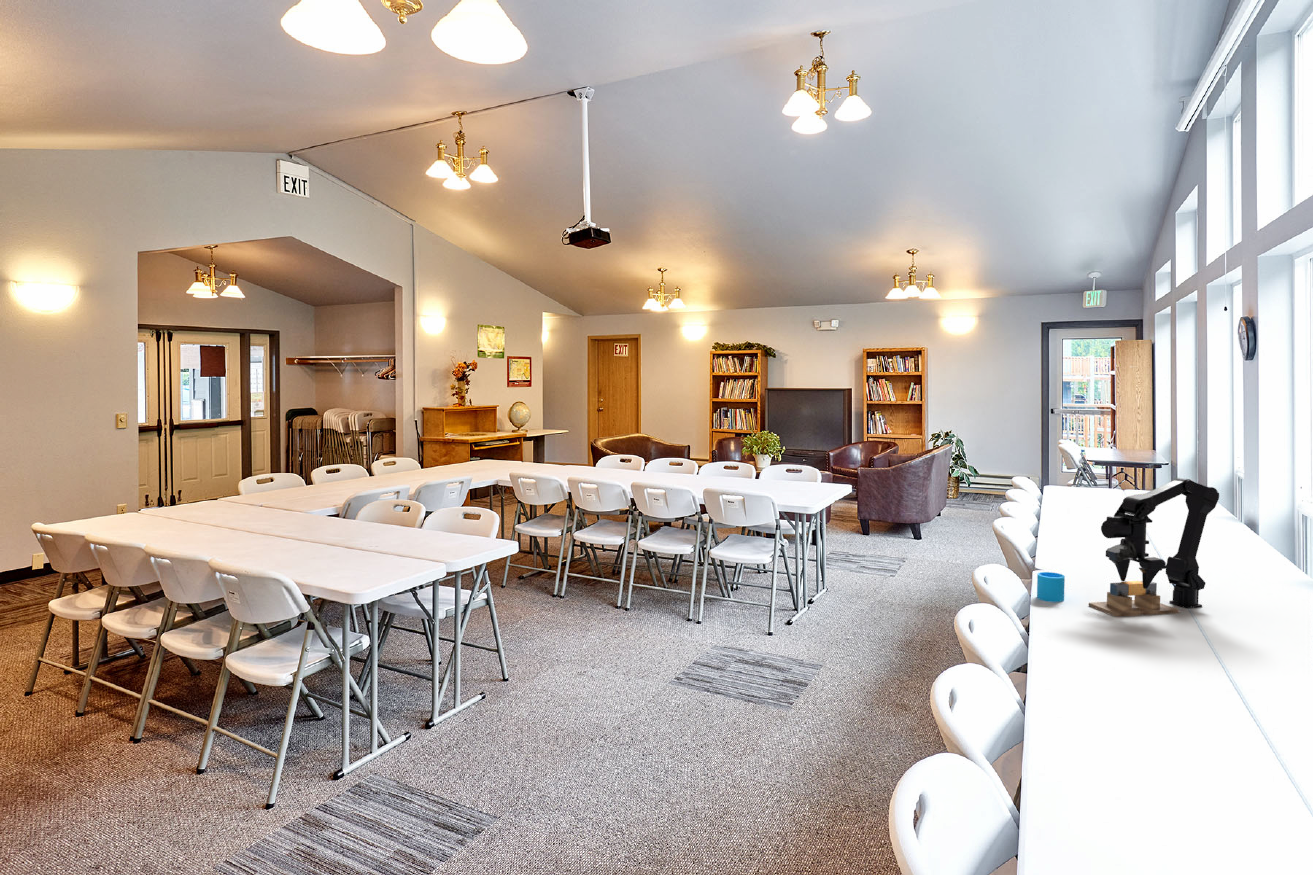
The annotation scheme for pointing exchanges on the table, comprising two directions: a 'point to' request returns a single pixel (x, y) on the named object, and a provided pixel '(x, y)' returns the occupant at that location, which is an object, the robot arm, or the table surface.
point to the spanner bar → (1131, 588)
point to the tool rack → (1133, 605)
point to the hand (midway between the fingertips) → (1133, 584)
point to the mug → (1050, 586)
